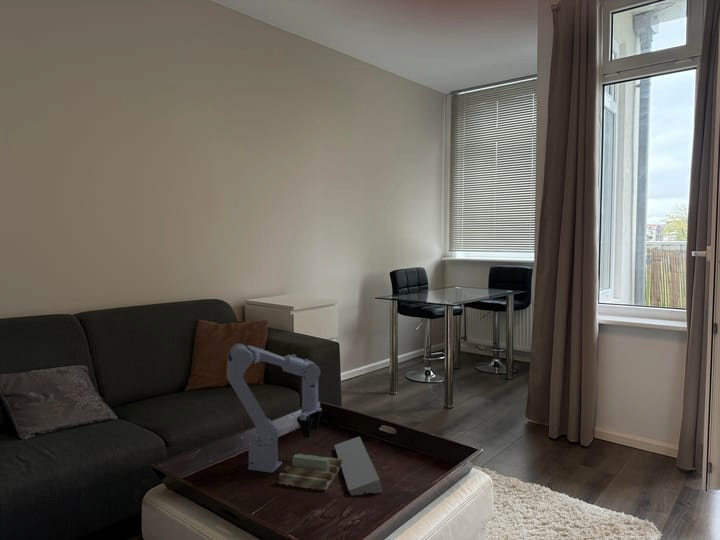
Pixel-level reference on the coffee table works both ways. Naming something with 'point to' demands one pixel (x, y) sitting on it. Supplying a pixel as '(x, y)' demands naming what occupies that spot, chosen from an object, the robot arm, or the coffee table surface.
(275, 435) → the robot arm
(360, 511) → the coffee table surface
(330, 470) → the ribbed tan slab
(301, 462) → the clay strip
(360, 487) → the grey rectangular block
